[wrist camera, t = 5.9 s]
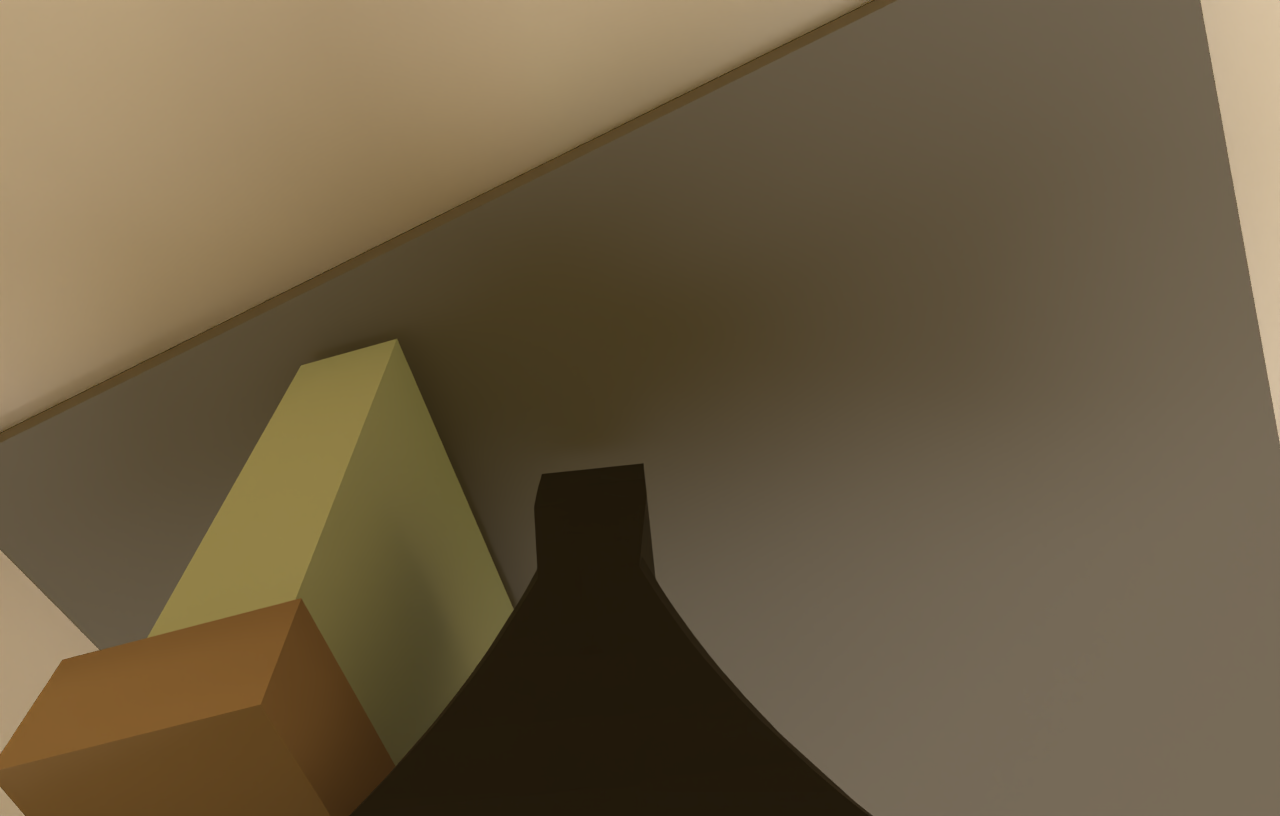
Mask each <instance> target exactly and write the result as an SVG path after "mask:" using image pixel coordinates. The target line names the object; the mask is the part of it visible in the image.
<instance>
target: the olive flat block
mask: <svg viewBox="0 0 1280 816" xmlns="http://www.w3.org/2000/svg"><path fill="white" fill-rule="evenodd" d="M513 610H514V609H513V606H512V604H511V602H510V599H509V597H508V595H507V593H506V590H505V588H504V586H503V583H502V581H501V579H500V576H499V574H498V572H497V569H496V567H495V565H494V562H493V560H492V558H491V555H490V553H489V551H488V548H487V546H486V544H485V541H484V539H483V537H482V535H481V532H480V530H479V528H478V525H477V523H476V521H475V518H474V516H473V514H472V511H471V509H470V507H469V504H468V502H467V500H466V497H465V495H464V493H463V490H462V488H461V486H460V483H459V481H458V479H457V477H456V474H455V472H454V470H453V467H452V465H451V463H450V460H449V458H448V456H447V453H446V451H445V449H444V446H443V444H442V442H441V439H440V437H439V435H438V432H437V430H436V428H435V426H434V423H433V421H432V419H431V416H430V414H429V412H428V409H427V407H426V405H425V402H424V400H423V398H422V395H421V393H420V391H419V388H418V386H417V384H416V381H415V379H414V377H413V374H412V372H411V370H410V368H409V365H408V363H407V361H406V358H405V356H404V354H403V351H402V349H401V347H400V344H399V342H398V340H397V339H394V340H391V341H387V342H384V343H380V344H376V345H373V346H369V347H366V348H362V349H358V350H355V351H351V352H348V353H344V354H340V355H337V356H333V357H330V358H326V359H322V360H319V361H315V362H312V363H308V364H304V365H301V366H300V368H299V370H298V372H297V373H296V375H295V377H294V379H293V380H292V382H291V384H290V386H289V388H288V389H287V391H286V393H285V395H284V396H283V398H282V400H281V402H280V403H279V405H278V407H277V409H276V411H275V412H274V414H273V416H272V418H271V419H270V421H269V423H268V425H267V427H266V428H265V430H264V432H263V434H262V435H261V437H260V439H259V441H258V442H257V444H256V446H255V448H254V450H253V451H252V453H251V455H250V457H249V458H248V460H247V462H246V464H245V465H244V467H243V469H242V471H241V473H240V474H239V476H238V478H237V480H236V481H235V483H234V485H233V487H232V488H231V490H230V492H229V494H228V496H227V497H226V499H225V501H224V503H223V504H222V506H221V508H220V510H219V512H218V513H217V515H216V517H215V519H214V520H213V522H212V524H211V526H210V527H209V529H208V531H207V533H206V535H205V536H204V538H203V540H202V542H201V543H200V545H199V547H198V549H197V550H196V552H195V554H194V556H193V558H192V559H191V561H190V563H189V565H188V566H187V568H186V570H185V572H184V573H183V575H182V577H181V579H180V581H179V582H178V584H177V586H176V588H175V589H174V591H173V593H172V595H171V597H170V598H169V600H168V602H167V604H166V605H165V607H164V609H163V611H162V612H161V614H160V616H159V618H158V620H157V621H156V623H155V625H154V627H153V628H152V630H151V632H150V634H149V635H148V637H147V638H145V639H141V640H137V641H134V642H130V643H126V644H122V645H118V646H114V647H110V648H107V649H103V650H99V651H95V652H91V653H87V654H83V655H79V656H76V657H72V658H68V659H64V660H62V661H61V663H60V664H59V666H58V667H57V669H56V670H55V672H54V674H53V675H52V677H51V678H50V680H49V681H48V683H47V684H46V686H45V687H44V689H43V690H42V692H41V693H40V695H39V696H38V698H37V699H36V701H35V702H34V704H33V705H32V707H31V709H30V710H29V712H28V713H27V715H26V716H25V718H24V719H23V721H22V722H21V724H20V725H19V727H18V728H17V730H16V731H15V733H14V734H13V736H12V737H11V739H10V741H9V742H8V744H7V745H6V747H5V748H4V750H3V751H2V753H1V754H0V787H1V788H2V789H3V790H4V791H5V793H6V794H7V795H8V796H9V797H10V799H11V800H12V801H13V802H14V803H15V804H16V806H17V807H18V808H19V809H20V810H21V811H22V813H23V814H24V815H25V816H349V815H350V814H351V813H352V812H353V811H354V810H355V809H356V808H357V807H358V806H359V805H360V804H361V803H362V802H363V801H364V800H365V799H366V798H367V797H368V796H369V795H370V793H371V792H372V791H373V790H374V789H375V788H376V787H377V786H378V785H379V784H380V783H381V782H382V781H383V780H384V779H385V778H386V776H387V775H388V774H389V773H390V772H391V771H392V770H393V768H394V767H395V766H396V765H397V764H398V763H399V762H400V761H401V759H402V758H403V757H404V756H405V755H406V754H407V753H408V751H409V750H410V749H411V748H412V747H413V746H414V745H415V743H416V742H417V741H418V740H419V739H420V738H421V737H422V736H423V734H424V733H425V732H426V731H427V730H428V729H429V727H430V726H431V725H432V724H433V723H434V721H435V720H436V719H437V718H438V716H439V715H440V714H441V713H442V711H443V710H444V709H445V707H446V706H447V705H448V704H449V702H450V701H451V700H452V699H453V697H454V696H455V695H456V694H457V692H458V691H459V690H460V688H461V687H462V686H463V684H464V683H465V682H466V680H467V679H468V678H469V676H470V675H471V673H472V672H473V671H474V669H475V668H476V666H477V665H478V664H479V662H480V661H481V659H482V658H483V656H484V655H485V654H486V652H487V651H488V649H489V648H490V646H491V644H492V643H493V641H494V640H495V638H496V637H497V635H498V633H499V632H500V630H501V629H502V627H503V626H504V624H505V623H506V621H507V619H508V618H509V616H510V615H511V613H512V612H513Z"/></svg>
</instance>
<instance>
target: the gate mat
mask: <svg viewBox="0 0 1280 816" xmlns="http://www.w3.org/2000/svg"><path fill="white" fill-rule="evenodd" d="M394 339H397V340H398V342H399V344H400V347H401V349H402V351H403V354H404V356H405V358H406V361H407V363H408V365H409V368H410V370H411V372H412V374H413V377H414V379H415V381H416V384H417V386H418V388H419V391H420V393H421V395H422V398H423V400H424V402H425V405H426V407H427V409H428V412H429V414H430V416H431V419H432V421H433V423H434V426H435V428H436V430H437V432H438V435H439V437H440V439H441V442H442V444H443V446H444V449H445V451H446V453H447V456H448V458H449V460H450V463H451V465H452V467H453V470H454V472H455V474H456V477H457V479H458V481H459V483H460V486H461V488H462V490H463V493H464V495H465V497H466V500H467V502H468V504H469V507H470V509H471V511H472V514H473V516H474V518H475V521H476V523H477V525H478V528H479V530H480V532H481V535H482V537H483V539H484V541H485V544H486V546H487V548H488V551H489V553H490V555H491V558H492V560H493V562H494V565H495V567H496V569H497V572H498V574H499V576H500V579H501V581H502V583H503V586H504V588H505V590H506V593H507V595H508V597H509V599H510V602H511V604H512V606H513V609H514V608H515V607H516V605H517V604H518V602H519V601H520V599H521V597H522V595H523V594H524V592H525V590H526V589H527V587H528V585H529V583H530V581H531V579H532V577H533V576H534V574H535V572H536V570H537V555H536V537H535V519H534V504H535V499H536V494H537V490H538V486H539V483H540V479H541V475H542V474H546V473H555V472H565V471H575V470H584V469H594V468H603V467H613V466H622V465H632V464H642V463H644V472H645V482H646V492H647V501H648V511H649V520H650V530H651V539H652V549H653V558H654V568H655V577H656V580H657V582H658V584H659V585H660V587H661V588H662V590H663V591H664V593H665V595H666V596H667V598H668V599H669V601H670V602H671V604H672V605H673V607H674V608H675V609H676V611H677V612H678V614H679V615H680V616H681V618H682V619H683V621H684V622H685V623H686V625H687V626H688V628H689V629H690V630H691V632H692V633H693V634H694V636H695V637H696V638H697V640H698V641H699V642H700V644H701V645H702V646H703V647H704V649H705V650H706V651H707V653H708V654H709V655H710V656H711V658H712V659H713V660H714V661H715V662H716V664H717V665H718V666H719V667H720V669H721V670H722V671H723V672H724V673H725V674H726V675H727V677H728V678H729V679H730V680H731V681H732V682H733V683H734V685H735V686H736V687H737V688H738V689H739V690H740V691H741V693H742V694H743V695H744V696H745V697H746V698H747V699H748V700H749V701H750V702H751V703H752V705H753V706H754V707H755V708H756V709H757V710H758V711H759V712H760V713H761V714H762V715H763V716H764V717H765V718H766V719H767V720H768V721H769V722H770V723H771V724H772V725H773V727H774V728H775V729H776V730H777V731H778V732H779V733H780V734H781V735H782V736H783V737H784V738H786V739H787V740H788V741H789V742H790V743H791V744H792V745H793V746H794V747H795V748H797V749H798V750H799V751H800V752H801V753H802V754H803V755H804V756H805V757H806V758H808V759H809V760H810V761H811V762H812V763H813V764H814V765H815V766H816V767H818V768H819V769H820V770H821V771H822V772H823V773H824V774H825V775H826V776H827V777H829V778H830V779H831V780H832V781H833V782H834V783H835V784H836V785H837V786H838V787H840V788H841V789H842V790H843V791H844V792H845V793H846V794H847V795H848V796H849V797H851V798H852V799H853V800H854V801H855V802H856V803H858V804H859V805H860V806H861V807H863V808H864V809H865V810H866V811H868V812H869V813H870V814H871V815H873V816H1280V443H1279V437H1278V432H1277V426H1276V421H1275V415H1274V410H1273V404H1272V398H1271V393H1270V387H1269V382H1268V376H1267V371H1266V365H1265V359H1264V354H1263V348H1262V343H1261V337H1260V332H1259V326H1258V320H1257V315H1256V309H1255V304H1254V298H1253V293H1252V287H1251V281H1250V276H1249V270H1248V265H1247V259H1246V253H1245V248H1244V242H1243V237H1242V231H1241V226H1240V220H1239V214H1238V209H1237V203H1236V198H1235V192H1234V187H1233V181H1232V175H1231V170H1230V164H1229V159H1228V153H1227V148H1226V142H1225V136H1224V131H1223V125H1222V120H1221V114H1220V108H1219V103H1218V97H1217V92H1216V86H1215V81H1214V75H1213V69H1212V64H1211V58H1210V53H1209V47H1208V42H1207V36H1206V30H1205V25H1204V19H1203V14H1202V8H1201V3H1200V0H874V1H872V2H870V3H868V4H866V5H864V6H862V7H860V8H858V9H856V10H854V11H852V12H850V13H848V14H846V15H844V16H842V17H840V18H838V19H836V20H834V21H832V22H830V23H828V24H826V25H824V26H822V27H820V28H818V29H816V30H814V31H812V32H810V33H807V34H805V35H803V36H801V37H799V38H797V39H795V40H793V41H791V42H789V43H787V44H785V45H783V46H781V47H779V48H777V49H775V50H773V51H771V52H769V53H767V54H765V55H763V56H761V57H759V58H757V59H755V60H753V61H751V62H749V63H747V64H745V65H743V66H741V67H739V68H737V69H735V70H733V71H731V72H729V73H727V74H725V75H723V76H721V77H719V78H717V79H715V80H713V81H711V82H709V83H707V84H705V85H702V86H700V87H698V88H696V89H694V90H692V91H690V92H688V93H686V94H684V95H682V96H680V97H678V98H676V99H674V100H672V101H670V102H668V103H666V104H664V105H662V106H660V107H658V108H656V109H654V110H652V111H650V112H648V113H646V114H644V115H642V116H640V117H638V118H636V119H634V120H632V121H630V122H628V123H626V124H624V125H622V126H620V127H618V128H616V129H614V130H612V131H610V132H608V133H606V134H604V135H602V136H600V137H597V138H595V139H593V140H591V141H589V142H587V143H585V144H583V145H581V146H579V147H577V148H575V149H573V150H571V151H569V152H567V153H565V154H563V155H561V156H559V157H557V158H555V159H553V160H551V161H549V162H547V163H545V164H543V165H541V166H539V167H537V168H535V169H533V170H531V171H529V172H527V173H525V174H523V175H521V176H519V177H517V178H515V179H513V180H511V181H509V182H507V183H505V184H503V185H501V186H499V187H497V188H495V189H492V190H490V191H488V192H486V193H484V194H482V195H480V196H478V197H476V198H474V199H472V200H470V201H468V202H466V203H464V204H462V205H460V206H458V207H456V208H454V209H452V210H450V211H448V212H446V213H444V214H442V215H440V216H438V217H436V218H434V219H432V220H430V221H428V222H426V223H424V224H422V225H420V226H418V227H416V228H414V229H412V230H410V231H408V232H406V233H404V234H402V235H400V236H398V237H396V238H394V239H392V240H390V241H387V242H385V243H383V244H381V245H379V246H377V247H375V248H373V249H371V250H369V251H367V252H365V253H363V254H361V255H359V256H357V257H355V258H353V259H351V260H349V261H347V262H345V263H343V264H341V265H339V266H337V267H335V268H333V269H331V270H329V271H327V272H325V273H323V274H321V275H319V276H317V277H315V278H313V279H311V280H309V281H307V282H305V283H303V284H301V285H299V286H297V287H295V288H293V289H291V290H289V291H287V292H285V293H282V294H280V295H278V296H276V297H274V298H272V299H270V300H268V301H266V302H264V303H262V304H260V305H258V306H256V307H254V308H252V309H250V310H248V311H246V312H244V313H242V314H240V315H238V316H236V317H234V318H232V319H230V320H228V321H226V322H224V323H222V324H220V325H218V326H216V327H214V328H212V329H210V330H208V331H206V332H204V333H202V334H200V335H198V336H196V337H194V338H192V339H190V340H188V341H186V342H184V343H182V344H180V345H177V346H175V347H173V348H171V349H169V350H167V351H165V352H163V353H161V354H159V355H157V356H155V357H153V358H151V359H149V360H147V361H145V362H143V363H141V364H139V365H137V366H135V367H133V368H131V369H129V370H127V371H125V372H123V373H121V374H119V375H117V376H115V377H113V378H111V379H109V380H107V381H105V382H103V383H101V384H99V385H97V386H95V387H93V388H91V389H89V390H87V391H85V392H83V393H81V394H79V395H77V396H75V397H73V398H70V399H68V400H66V401H64V402H62V403H60V404H58V405H56V406H54V407H52V408H50V409H48V410H46V411H44V412H42V413H40V414H38V415H36V416H34V417H32V418H30V419H28V420H26V421H24V422H22V423H20V424H18V425H16V426H14V427H12V428H10V429H8V430H6V431H4V432H2V433H0V550H1V551H2V552H3V553H4V554H5V555H6V556H7V557H8V558H9V559H10V560H11V561H12V562H13V563H14V564H15V565H16V566H17V567H18V568H19V569H20V570H21V571H22V572H23V573H24V574H25V575H26V576H27V577H28V578H29V579H30V580H31V581H32V582H33V583H34V584H35V585H36V586H37V587H38V588H39V589H40V590H41V591H42V592H43V593H44V594H45V595H46V596H47V597H48V598H49V599H50V600H51V601H52V602H53V603H54V604H55V605H56V606H57V607H58V608H59V609H60V610H61V611H62V612H63V613H64V614H65V615H66V616H67V617H68V618H69V619H70V620H71V621H72V622H73V623H74V624H75V625H76V626H77V627H78V628H79V629H80V631H81V632H82V633H83V634H84V635H85V636H86V637H87V638H88V639H89V640H90V641H91V642H92V643H93V644H94V645H95V646H96V647H97V648H98V649H99V650H103V649H107V648H110V647H114V646H118V645H122V644H126V643H130V642H134V641H137V640H141V639H145V638H147V637H148V635H149V634H150V632H151V630H152V628H153V627H154V625H155V623H156V621H157V620H158V618H159V616H160V614H161V612H162V611H163V609H164V607H165V605H166V604H167V602H168V600H169V598H170V597H171V595H172V593H173V591H174V589H175V588H176V586H177V584H178V582H179V581H180V579H181V577H182V575H183V573H184V572H185V570H186V568H187V566H188V565H189V563H190V561H191V559H192V558H193V556H194V554H195V552H196V550H197V549H198V547H199V545H200V543H201V542H202V540H203V538H204V536H205V535H206V533H207V531H208V529H209V527H210V526H211V524H212V522H213V520H214V519H215V517H216V515H217V513H218V512H219V510H220V508H221V506H222V504H223V503H224V501H225V499H226V497H227V496H228V494H229V492H230V490H231V488H232V487H233V485H234V483H235V481H236V480H237V478H238V476H239V474H240V473H241V471H242V469H243V467H244V465H245V464H246V462H247V460H248V458H249V457H250V455H251V453H252V451H253V450H254V448H255V446H256V444H257V442H258V441H259V439H260V437H261V435H262V434H263V432H264V430H265V428H266V427H267V425H268V423H269V421H270V419H271V418H272V416H273V414H274V412H275V411H276V409H277V407H278V405H279V403H280V402H281V400H282V398H283V396H284V395H285V393H286V391H287V389H288V388H289V386H290V384H291V382H292V380H293V379H294V377H295V375H296V373H297V372H298V370H299V368H300V366H301V365H304V364H308V363H312V362H315V361H319V360H322V359H326V358H330V357H333V356H337V355H340V354H344V353H348V352H351V351H355V350H358V349H362V348H366V347H369V346H373V345H376V344H380V343H384V342H387V341H391V340H394Z"/></svg>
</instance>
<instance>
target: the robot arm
mask: <svg viewBox="0 0 1280 816" xmlns="http://www.w3.org/2000/svg"><path fill="white" fill-rule="evenodd" d="M534 519H535V537H536V555H537V570H536V572H535V574H534V576H533V577H532V579H531V581H530V583H529V585H528V587H527V589H526V590H525V592H524V594H523V595H522V597H521V599H520V601H519V602H518V604H517V605H516V607H515V608H514V610H513V612H512V613H511V615H510V616H509V618H508V619H507V621H506V623H505V624H504V626H503V627H502V629H501V630H500V632H499V633H498V635H497V637H496V638H495V640H494V641H493V643H492V644H491V646H490V648H489V649H488V651H487V652H486V654H485V655H484V656H483V658H482V659H481V661H480V662H479V664H478V665H477V666H476V668H475V669H474V671H473V672H472V673H471V675H470V676H469V678H468V679H467V680H466V682H465V683H464V684H463V686H462V687H461V688H460V690H459V691H458V692H457V694H456V695H455V696H454V697H453V699H452V700H451V701H450V702H449V704H448V705H447V706H446V707H445V709H444V710H443V711H442V713H441V714H440V715H439V716H438V718H437V719H436V720H435V721H434V723H433V724H432V725H431V726H430V727H429V729H428V730H427V731H426V732H425V733H424V734H423V736H422V737H421V738H420V739H419V740H418V741H417V742H416V743H415V745H414V746H413V747H412V748H411V749H410V750H409V751H408V753H407V754H406V755H405V756H404V757H403V758H402V759H401V761H400V762H399V763H398V764H397V765H396V766H395V767H394V768H393V770H392V771H391V772H390V773H389V774H388V775H387V776H386V778H385V779H384V780H383V781H382V782H381V783H380V784H379V785H378V786H377V787H376V788H375V789H374V790H373V791H372V792H371V793H370V795H369V796H368V797H367V798H366V799H365V800H364V801H363V802H362V803H361V804H360V805H359V806H358V807H357V808H356V809H355V810H354V811H353V812H352V813H351V814H350V815H349V816H873V815H871V814H870V813H869V812H868V811H866V810H865V809H864V808H863V807H861V806H860V805H859V804H858V803H856V802H855V801H854V800H853V799H852V798H851V797H849V796H848V795H847V794H846V793H845V792H844V791H843V790H842V789H841V788H840V787H838V786H837V785H836V784H835V783H834V782H833V781H832V780H831V779H830V778H829V777H827V776H826V775H825V774H824V773H823V772H822V771H821V770H820V769H819V768H818V767H816V766H815V765H814V764H813V763H812V762H811V761H810V760H809V759H808V758H806V757H805V756H804V755H803V754H802V753H801V752H800V751H799V750H798V749H797V748H795V747H794V746H793V745H792V744H791V743H790V742H789V741H788V740H787V739H786V738H784V737H783V736H782V735H781V734H780V733H779V732H778V731H777V730H776V729H775V728H774V727H773V725H772V724H771V723H770V722H769V721H768V720H767V719H766V718H765V717H764V716H763V715H762V714H761V713H760V712H759V711H758V710H757V709H756V708H755V707H754V706H753V705H752V703H751V702H750V701H749V700H748V699H747V698H746V697H745V696H744V695H743V694H742V693H741V691H740V690H739V689H738V688H737V687H736V686H735V685H734V683H733V682H732V681H731V680H730V679H729V678H728V677H727V675H726V674H725V673H724V672H723V671H722V670H721V669H720V667H719V666H718V665H717V664H716V662H715V661H714V660H713V659H712V658H711V656H710V655H709V654H708V653H707V651H706V650H705V649H704V647H703V646H702V645H701V644H700V642H699V641H698V640H697V638H696V637H695V636H694V634H693V633H692V632H691V630H690V629H689V628H688V626H687V625H686V623H685V622H684V621H683V619H682V618H681V616H680V615H679V614H678V612H677V611H676V609H675V608H674V607H673V605H672V604H671V602H670V601H669V599H668V598H667V596H666V595H665V593H664V591H663V590H662V588H661V587H660V585H659V584H658V582H657V580H656V577H655V568H654V558H653V549H652V539H651V530H650V520H649V511H648V501H647V492H646V482H645V472H644V463H642V464H632V465H622V466H613V467H603V468H594V469H584V470H575V471H565V472H555V473H546V474H542V475H541V479H540V483H539V486H538V490H537V494H536V499H535V504H534Z"/></svg>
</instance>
